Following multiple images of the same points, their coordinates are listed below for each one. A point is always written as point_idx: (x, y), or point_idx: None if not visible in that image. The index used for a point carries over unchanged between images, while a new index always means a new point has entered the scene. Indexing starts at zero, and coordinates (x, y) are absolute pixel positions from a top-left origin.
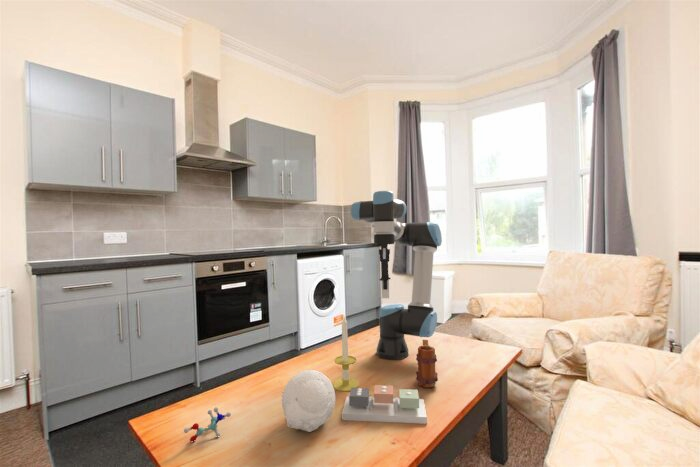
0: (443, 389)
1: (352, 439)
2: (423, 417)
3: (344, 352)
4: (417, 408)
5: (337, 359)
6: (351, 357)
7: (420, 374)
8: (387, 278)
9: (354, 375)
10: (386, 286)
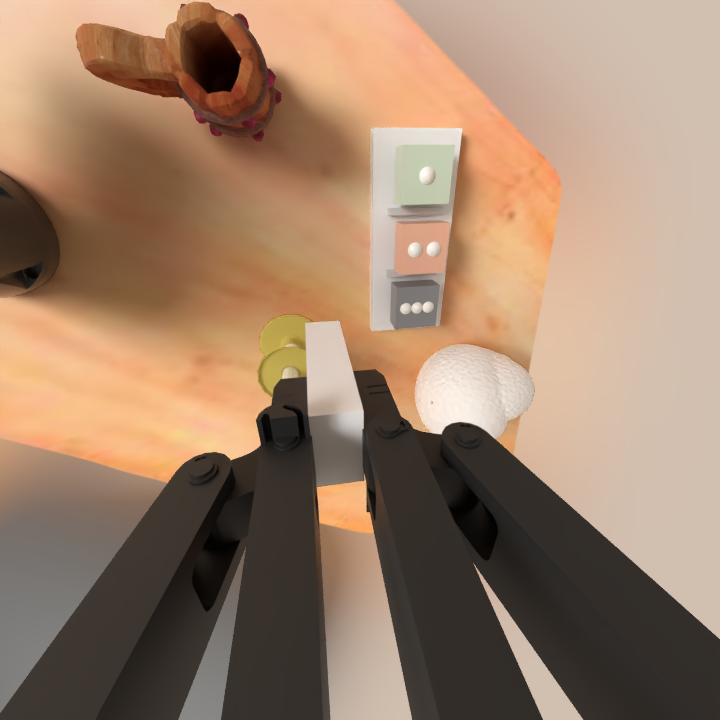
0: (259, 31)
1: (493, 292)
2: (460, 138)
3: None
4: None
5: None
6: (262, 363)
7: (255, 119)
8: (480, 438)
9: (229, 334)
10: (388, 391)
